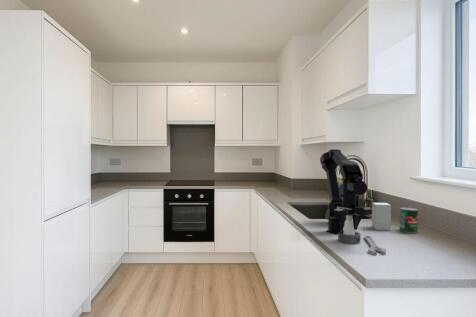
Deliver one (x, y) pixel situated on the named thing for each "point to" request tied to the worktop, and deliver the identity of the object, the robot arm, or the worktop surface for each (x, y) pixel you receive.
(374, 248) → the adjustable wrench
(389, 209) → the supplement box
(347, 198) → the robot arm
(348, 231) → the salt shaker
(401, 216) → the canned tomato
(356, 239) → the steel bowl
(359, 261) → the worktop surface
